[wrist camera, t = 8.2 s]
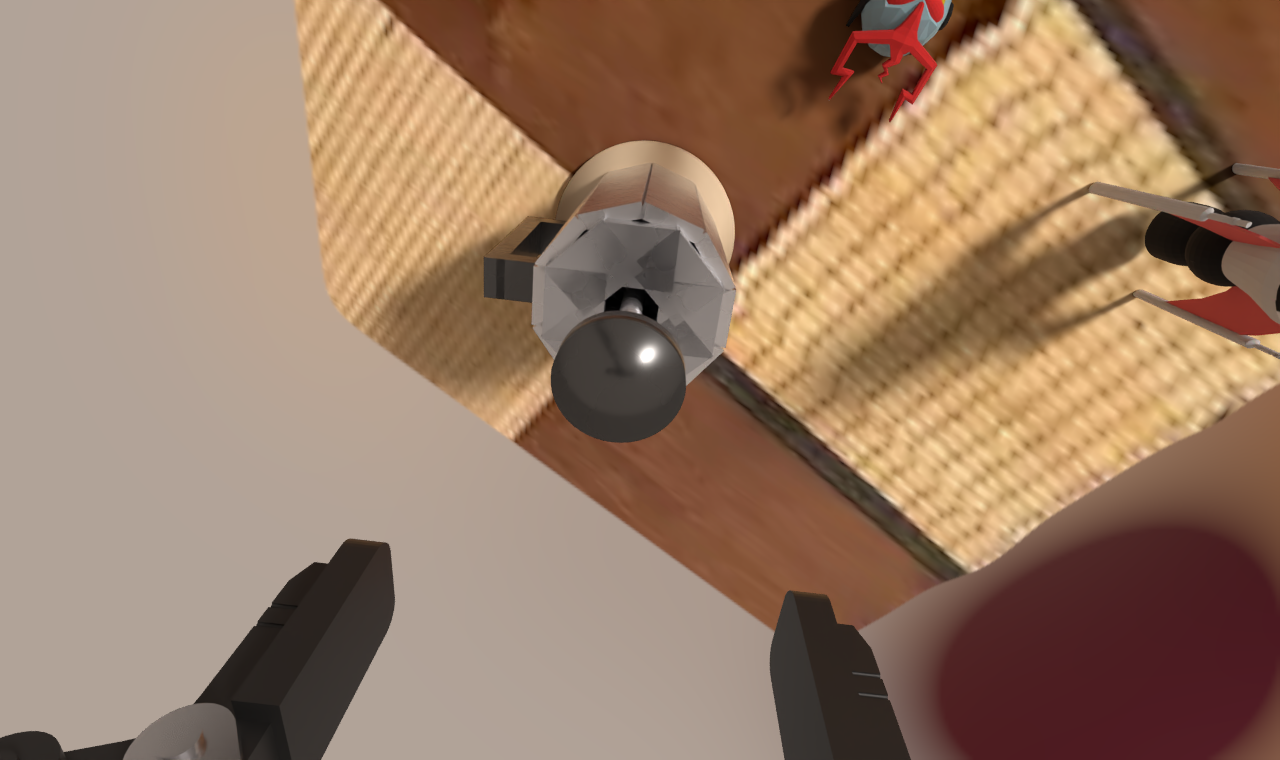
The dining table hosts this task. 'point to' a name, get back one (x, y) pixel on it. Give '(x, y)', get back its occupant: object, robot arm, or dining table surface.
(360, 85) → the dining table surface
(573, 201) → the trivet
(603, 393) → the plunger
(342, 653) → the robot arm
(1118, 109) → the dining table surface
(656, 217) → the french press
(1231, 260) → the toy
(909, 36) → the toy
